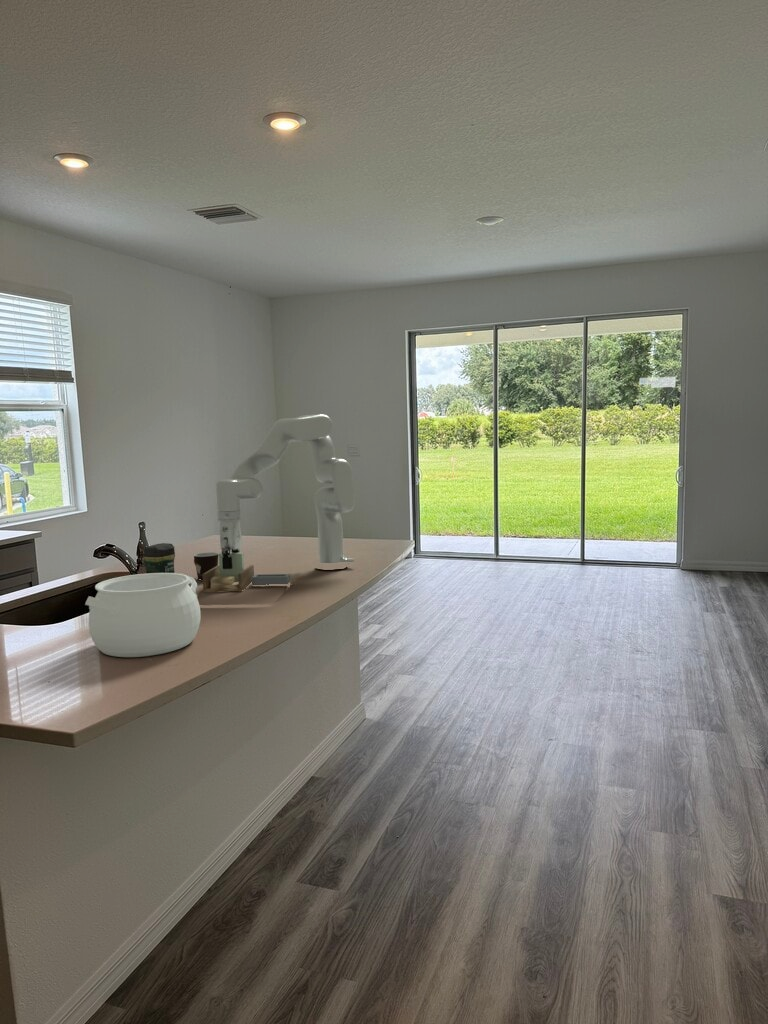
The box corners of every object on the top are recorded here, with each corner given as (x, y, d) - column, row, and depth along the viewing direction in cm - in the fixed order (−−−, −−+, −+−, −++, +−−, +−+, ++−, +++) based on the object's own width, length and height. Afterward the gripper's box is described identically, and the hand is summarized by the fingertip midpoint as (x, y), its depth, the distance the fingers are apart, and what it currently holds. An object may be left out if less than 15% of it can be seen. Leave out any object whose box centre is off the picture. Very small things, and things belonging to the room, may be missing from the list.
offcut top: (234, 581, 235) (234, 576, 235) (232, 584, 230) (231, 578, 230) (214, 582, 235) (213, 576, 235) (210, 585, 230) (210, 579, 230)
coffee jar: (162, 606, 216) (158, 546, 214) (141, 604, 219) (138, 545, 217) (182, 598, 225) (178, 542, 223) (162, 597, 228) (159, 541, 226)
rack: (254, 585, 243) (253, 565, 243) (242, 594, 228) (241, 573, 228) (218, 585, 244) (217, 565, 244) (203, 595, 230) (202, 574, 229)
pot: (168, 624, 195) (164, 566, 193) (228, 639, 178) (224, 577, 176) (64, 650, 172) (59, 586, 171) (121, 671, 156) (116, 600, 154)
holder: (291, 586, 240) (290, 573, 239) (287, 590, 234) (286, 577, 233) (256, 586, 241) (256, 573, 240) (252, 590, 235) (251, 577, 234)
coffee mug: (221, 582, 249) (220, 555, 248) (196, 585, 245) (195, 557, 244) (216, 577, 259) (215, 550, 258) (193, 579, 256) (191, 552, 255)
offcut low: (241, 587, 235) (241, 582, 234) (237, 590, 230) (237, 584, 230) (215, 588, 235) (214, 582, 235) (210, 591, 231) (210, 585, 231)
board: (244, 584, 240) (243, 552, 239) (243, 585, 238) (241, 553, 237) (222, 584, 241) (220, 552, 240) (220, 585, 239) (218, 553, 238)
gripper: (232, 518, 228) (234, 571, 230) (247, 513, 246) (249, 561, 247) (209, 519, 229) (212, 571, 231) (226, 513, 246) (228, 561, 248)
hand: (231, 566), depth 239 cm, fingers open, 8 cm apart
